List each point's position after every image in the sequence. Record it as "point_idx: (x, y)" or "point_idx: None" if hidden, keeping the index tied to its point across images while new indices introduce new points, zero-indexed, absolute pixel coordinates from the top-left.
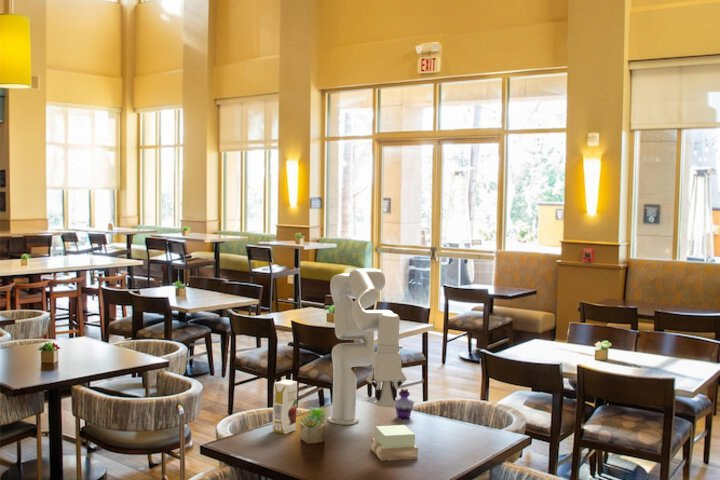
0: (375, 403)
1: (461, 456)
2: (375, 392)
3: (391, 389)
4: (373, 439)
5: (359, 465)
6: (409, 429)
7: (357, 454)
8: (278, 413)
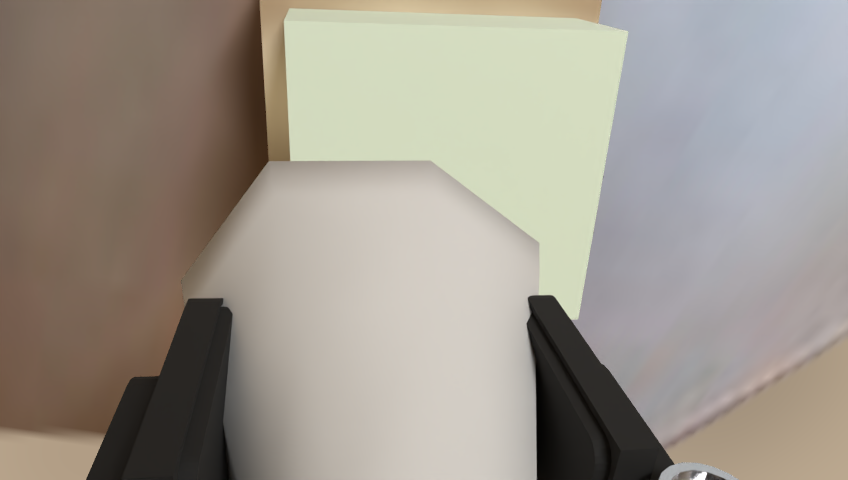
0: (182, 285)
1: (802, 250)
2: (102, 464)
3: (580, 440)
4: (267, 28)
5: (101, 319)
6: (599, 188)
7: (116, 98)
8: None
